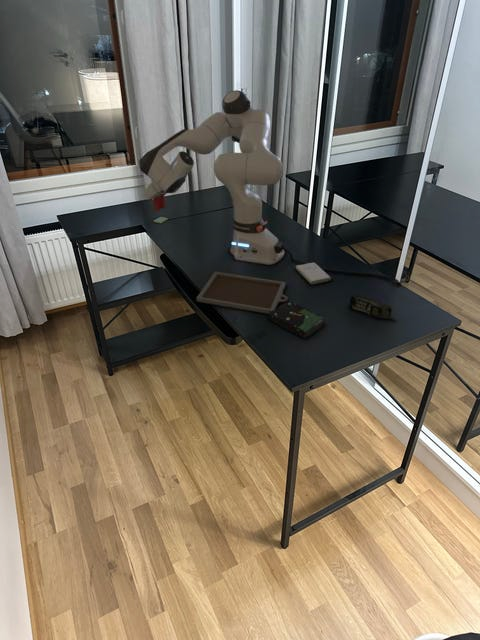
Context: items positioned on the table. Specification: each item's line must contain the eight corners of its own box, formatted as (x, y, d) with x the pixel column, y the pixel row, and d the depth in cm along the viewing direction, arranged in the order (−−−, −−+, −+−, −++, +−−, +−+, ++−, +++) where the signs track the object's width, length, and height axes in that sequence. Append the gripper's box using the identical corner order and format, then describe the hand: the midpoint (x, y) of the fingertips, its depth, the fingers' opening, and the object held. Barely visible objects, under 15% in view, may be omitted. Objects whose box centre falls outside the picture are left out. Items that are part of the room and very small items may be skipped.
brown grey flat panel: (214, 271, 162) (293, 283, 155) (214, 274, 163) (292, 287, 156) (195, 297, 148) (281, 312, 140) (196, 301, 148) (281, 316, 141)
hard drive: (310, 285, 157) (295, 269, 167) (330, 280, 160) (314, 265, 169) (311, 281, 156) (295, 265, 166) (331, 277, 159) (314, 261, 168)
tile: (168, 218, 206) (168, 218, 206) (160, 223, 202) (160, 223, 202) (160, 216, 208) (160, 216, 208) (152, 221, 204) (152, 221, 204)
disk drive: (268, 320, 140) (305, 339, 132) (268, 313, 138) (306, 331, 130) (287, 307, 146) (324, 324, 138) (288, 300, 145) (325, 317, 136)
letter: (165, 208, 203) (163, 187, 197) (157, 211, 200) (155, 190, 194) (161, 206, 204) (159, 185, 198) (154, 209, 201) (151, 188, 195)
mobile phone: (349, 296, 142) (395, 310, 135) (353, 292, 144) (398, 305, 137) (348, 309, 145) (392, 323, 138) (351, 305, 147) (395, 318, 140)
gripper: (182, 167, 195) (169, 184, 205) (149, 179, 182) (136, 197, 192) (190, 179, 195) (177, 195, 206) (157, 192, 182) (144, 209, 193)
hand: (157, 196), depth 199 cm, fingers closed on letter, 5 cm apart
